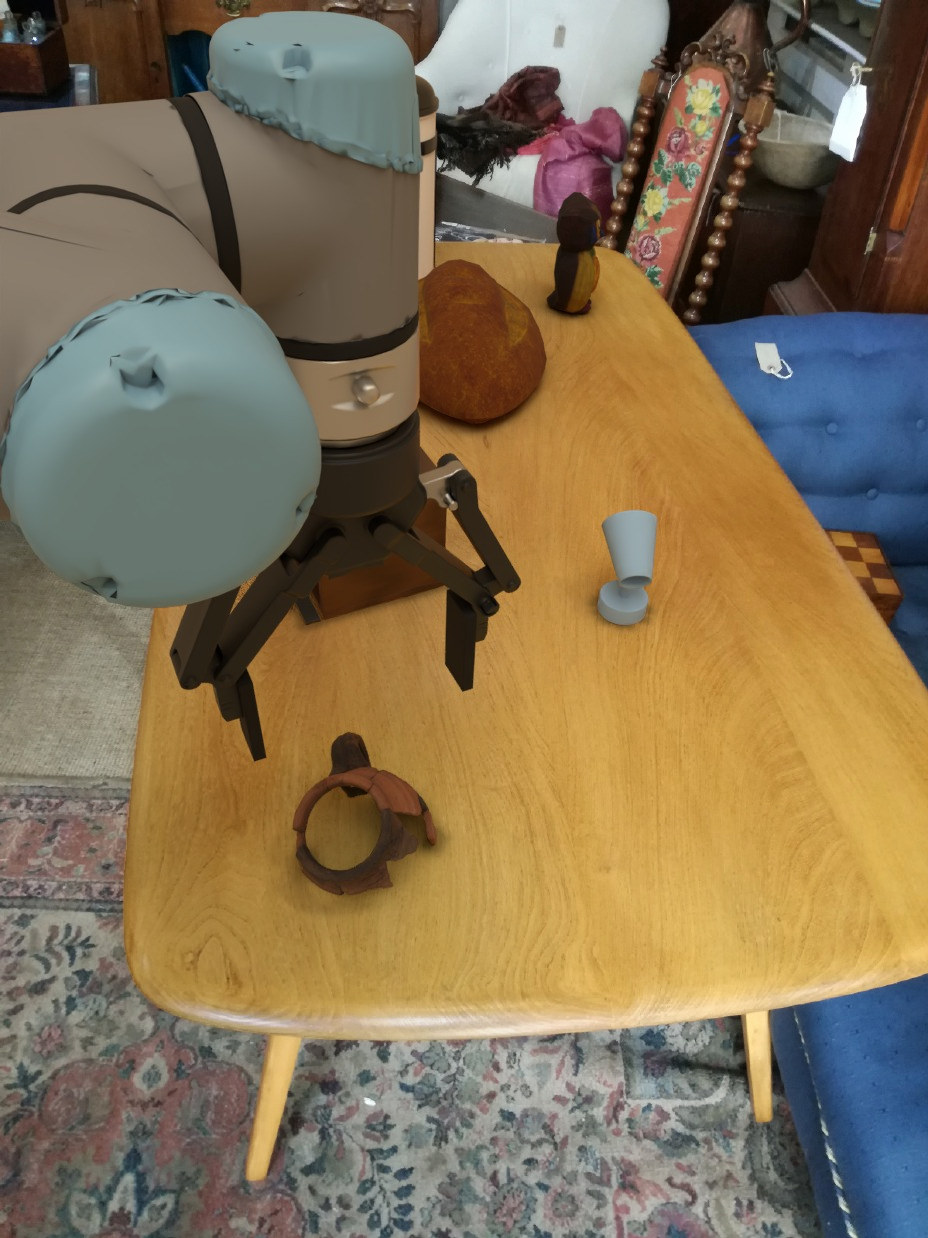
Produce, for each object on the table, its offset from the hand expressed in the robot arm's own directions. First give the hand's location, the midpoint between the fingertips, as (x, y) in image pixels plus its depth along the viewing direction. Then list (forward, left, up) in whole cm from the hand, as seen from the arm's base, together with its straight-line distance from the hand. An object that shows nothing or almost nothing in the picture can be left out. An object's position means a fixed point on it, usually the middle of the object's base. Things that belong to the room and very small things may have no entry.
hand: (360, 709), depth 58 cm
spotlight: (+31, +14, -14) cm, 37 cm away
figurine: (+59, +71, -14) cm, 93 cm away
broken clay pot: (0, 0, -14) cm, 14 cm away
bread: (+37, +61, -14) cm, 73 cm away
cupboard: (+10, +33, -14) cm, 38 cm away
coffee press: (+37, +86, -14) cm, 95 cm away
